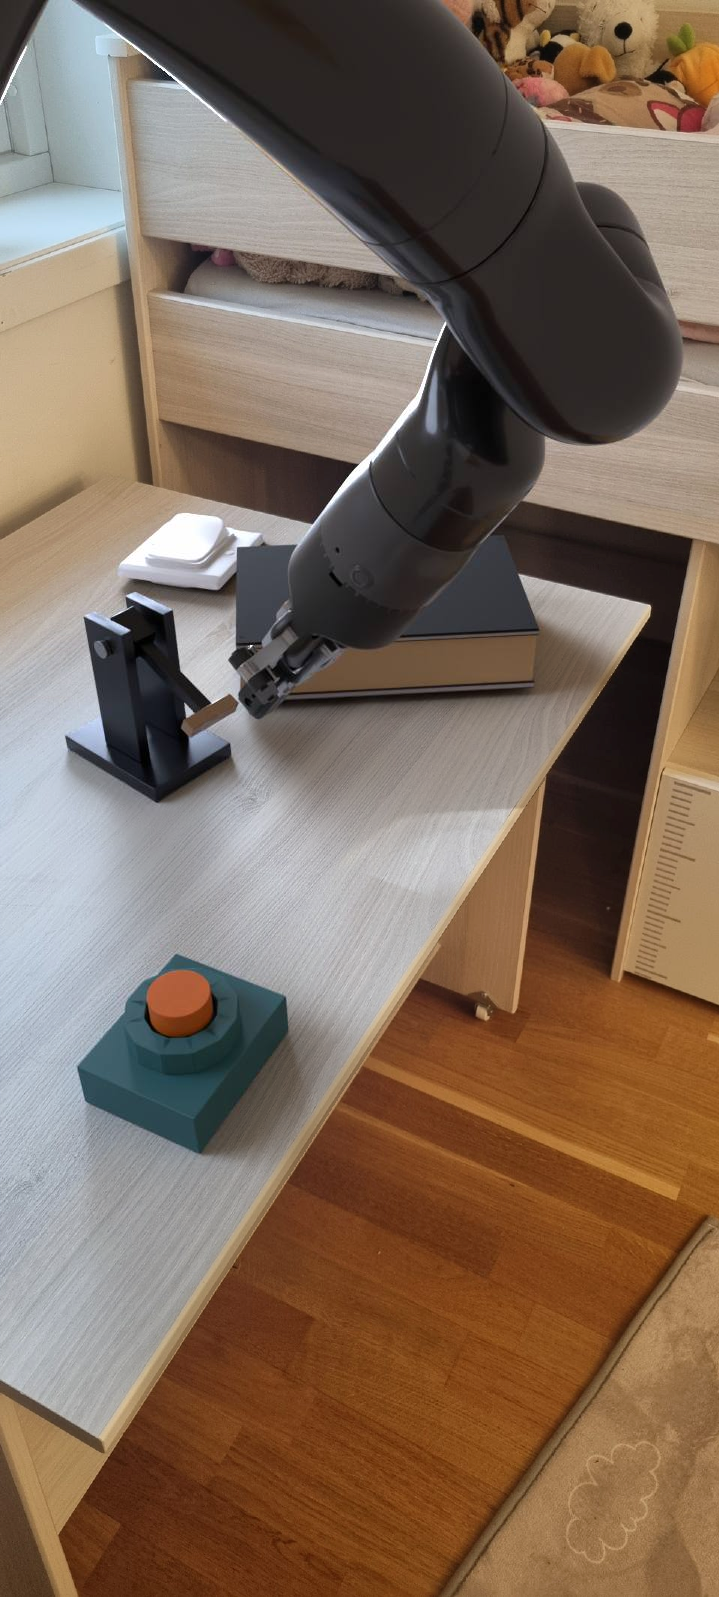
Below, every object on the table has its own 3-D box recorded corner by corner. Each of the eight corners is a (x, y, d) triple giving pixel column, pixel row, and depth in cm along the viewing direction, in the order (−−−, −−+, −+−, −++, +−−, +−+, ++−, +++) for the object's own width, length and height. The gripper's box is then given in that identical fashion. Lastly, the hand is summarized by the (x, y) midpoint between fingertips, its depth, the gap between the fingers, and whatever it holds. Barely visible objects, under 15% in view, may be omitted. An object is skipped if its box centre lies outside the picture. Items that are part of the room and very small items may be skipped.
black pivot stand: (231, 755, 96) (218, 616, 88) (156, 802, 92) (135, 659, 84) (142, 706, 102) (122, 571, 94) (67, 748, 97) (39, 609, 89)
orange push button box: (199, 1155, 67) (190, 1098, 64) (84, 1102, 70) (70, 1045, 67) (289, 1031, 74) (285, 975, 71) (181, 988, 77) (172, 932, 73)
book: (241, 609, 115) (236, 546, 111) (499, 597, 116) (503, 534, 112) (241, 710, 101) (235, 643, 97) (533, 695, 103) (539, 628, 98)
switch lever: (233, 716, 90) (241, 697, 88) (188, 743, 88) (195, 724, 86) (140, 620, 93) (145, 599, 91) (93, 643, 90) (97, 622, 88)
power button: (190, 1046, 67) (187, 1025, 66) (137, 1024, 68) (133, 1003, 67) (225, 1003, 69) (222, 982, 68) (173, 982, 71) (170, 962, 70)
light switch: (263, 509, 124) (216, 557, 114) (265, 546, 127) (218, 597, 117) (167, 497, 127) (113, 543, 117) (171, 534, 129) (117, 582, 119)
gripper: (416, 454, 67) (285, 619, 80) (257, 532, 59) (141, 702, 72) (501, 557, 67) (355, 706, 80) (353, 650, 58) (219, 799, 72)
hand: (254, 704), depth 76 cm, fingers closed
